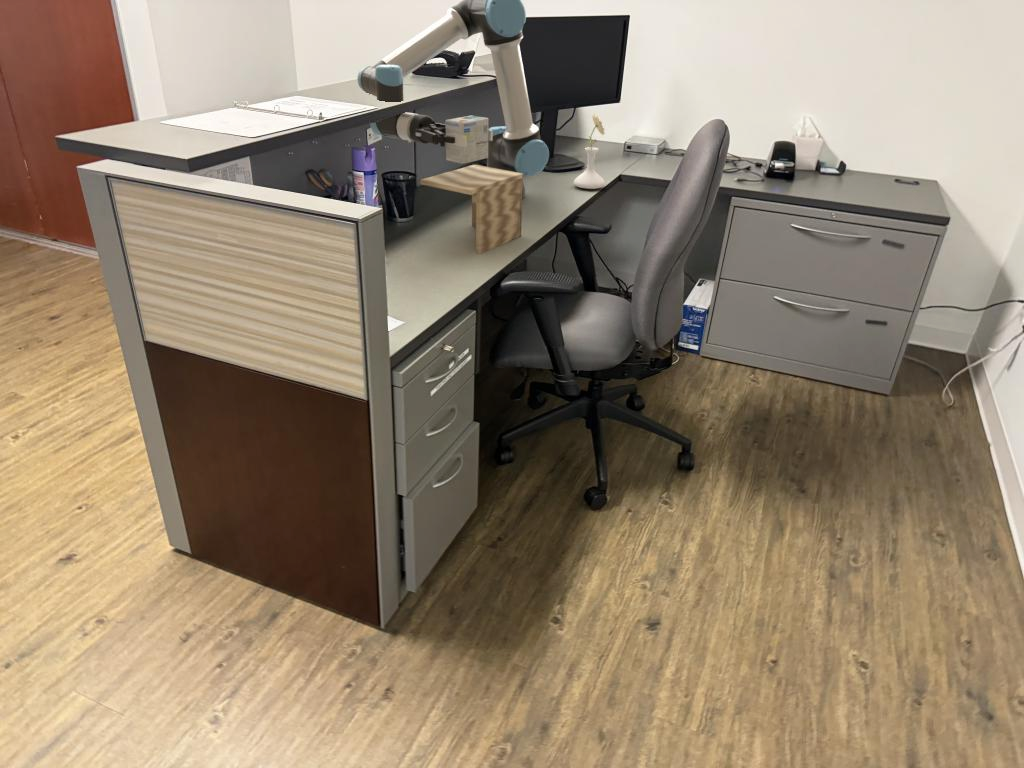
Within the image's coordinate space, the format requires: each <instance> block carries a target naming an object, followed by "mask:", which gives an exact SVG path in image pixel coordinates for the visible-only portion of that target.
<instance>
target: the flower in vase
mask: <svg viewBox="0 0 1024 768" xmlns="http://www.w3.org/2000/svg"><path fill="white" fill-rule="evenodd" d="M591 118H592V121H593V123H594V125H595V126H594V127H593V129H592V131H591V134H590V135H589V136H588V137H589V140H590V141H589V145H590V147H589V146H588V147H585V148H584V150H585V152H586V155H587V166H586V169H585V170H584V171H583V172H581V174H579V175H578V176H577V177H576V178H574V181H573V184H574V185H575V186H576V187H578V188H581V189H586V190H596V189H601V188H603V187H605V185H606V182H605V180H604V179H603V177H601V176H600V174H598V173H597V172H596V170H595V157H596V155H597V152H598V151H599V150H600V148H598V147H593V144H595V143H597V140H596V139H594V140H593V141H592V135H593V133H594V131H595V129H597V131H598V132H599V134H601V135H602V136H604V135H605V134H606V132H605V127H604V126H603V125H602V123H603V122H602V121H601V120H600V119H599V117H598V115H595V114H594V113H593V114H592V117H591Z"/></svg>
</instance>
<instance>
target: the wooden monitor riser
mask: <svg viewBox="0 0 1024 768" xmlns="http://www.w3.org/2000/svg"><path fill="white" fill-rule="evenodd" d="M523 179H524V175H523V173H518V172H512V171H507V170H501V169H496V168H491V167H487V166H484V165H480V164H472V165H468V166H464V167H462V168H457V169H453V170H450V171H445V172H442V173H440V174H436V175H432V176H429V177H425V178H421V179H420V181H419V182H420V183H419V184H420V185H422V186H428V187H432V188H437V189H441V190H446V191H450V192H455V193H460V194H465V195H469V196H471V227H475V228H476V229H475V233H476V234H475V237H476V238H475V239H476V240H475V241H476V242H475V246H476V247H475V253H476V254H482V253H485V252H487V251H490V250H492V249H494V248H496V247H498V246H501V245H503V244H506V243H508V242H510V241H513V240H514V238H515V239H517V238H520V237H521V236H522V214H523V212H522V211H523V198H522V186H523V183H524V180H523ZM519 236H520V237H519ZM512 239H513V240H512Z"/></svg>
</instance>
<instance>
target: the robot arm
mask: <svg viewBox="0 0 1024 768" xmlns="http://www.w3.org/2000/svg"><path fill="white" fill-rule="evenodd" d="M526 19H527V12H526V7H525V5H524V2H523V1H522V0H460V1H458V2H457V3H455V4H454V5H453V6H452V7H450V8H449V9H447V14H446V15H445V16H443V17H442V18H440V19H438V21H436V22H434V23H433V24H432V25H430V26H429V27H427V28H426V29H425V30H423V31H422V32H420V33H418V34H417V35H416V36H413V38H411V39H410V40H409V41H407V42H405V43H404V44H403V45H401V46H400V47H398V48H397V49H395V50H394V51H392V52H391V53H390V54H388V55H386V56H385V57H383V59H381V60H379V61H377V62H376V63H375V64H373V65H368V66H365V67H362V68H361V69H360V71H359V72H358V74H357V84H358V87H360V89H361V90H362V91H364V92H365V94H367V93H369V94H368V95H370V94H372V95H371V96H374V97H376V101H377V100H379V101H385V102H401V101H404V78H406V77H407V76H408V75H410V74H412V73H413V72H415V71H416V70H417V69H419V68H420V67H422V66H423V65H424V64H426V63H427V62H429V61H431V60H432V59H434V57H436V56H437V55H439V54H441V53H442V52H443V51H445V50H447V48H450V47H451V46H453V45H454V44H455V43H456V42H458V41H459V40H461V39H462V40H467V39H469V38H470V37H472V36H473V35H476V34H479V33H480V34H482V39H483V43H484V46H485V47H486V48H488V50H490V53H491V57H492V62H493V68H494V72H495V78H496V85H497V88H498V95H499V98H500V99H499V100H500V104H501V109H502V114H503V117H504V124H505V125H502V126H501V125H500V126H492V127H488V158H486V167H491V168H496V169H501V170H507V171H512V172H518V173H523V176H527V177H533V176H536V175H538V174H540V173H541V172H542V171H543V170H544V169H545V167H546V165H548V164H547V163H548V161H549V158H550V151H549V147H548V146H547V144H546V143H545V141H543V140H542V139H541V134H540V129H539V126H538V125H536V124H535V123H534V122H533V116H532V110H531V105H530V99H529V94H528V87H527V83H526V82H527V81H526V77H525V71H524V64H523V60H522V59H523V58H522V54H521V47H520V43H521V41H522V39H523V38H524V34H523V28H524V25H525V23H526ZM404 112H405V111H404ZM369 124H370V123H369ZM369 127H370V128H371V131H372V132H373V133H374V134H375V135H378V136H382V137H384V138H390V139H397V140H398V139H399V140H403V141H407V143H409V144H412V142H414V143H419V144H425V145H426V144H429V143H430V144H433V145H439V144H440V147H446V144H449V145H455V146H461V147H467V136H462V135H456V134H450V133H446V123H441V122H435V121H434V119H433V118H432V117H431V116H430V115H425V114H418V113H413V112H408V111H407V112H405V113H402V114H399V115H396V116H393V117H389V118H387V119H383V120H381V121H379V122H376V123H371V124H370V125H369ZM525 198H526V187H525V183H524V182H523V186H522V199H525Z"/></svg>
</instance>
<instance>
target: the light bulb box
mask: <svg viewBox="0 0 1024 768" xmlns="http://www.w3.org/2000/svg"><path fill="white" fill-rule="evenodd" d="M489 120H490V119H489V118H488V117H483V116H479V115H478V116H477V115H472V114H470V115H468V116H467V115H465V116H462V117H461V116H460V117H455V118H451V119H450V118H449V119H445V121H444V122H445V123H446V133H450V134H456V135H462V136H467V147H461V146H455V145H449V144H446V143H445V156H446V157H445V160H446V161H449V162H452V163H456V164H457V163H458V164H461V165H464V164H468V163H472V162H476V161H481V160H485V159H487V158H488V130H489ZM445 123H444V124H445Z"/></svg>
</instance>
